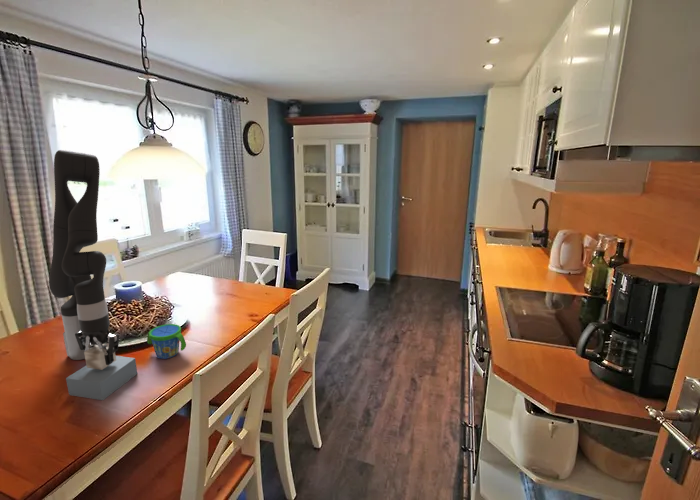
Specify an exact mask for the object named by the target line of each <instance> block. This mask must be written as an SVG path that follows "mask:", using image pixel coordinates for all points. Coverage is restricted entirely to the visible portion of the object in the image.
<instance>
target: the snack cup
mask: <svg viewBox="0 0 700 500" xmlns="http://www.w3.org/2000/svg"><path fill="white" fill-rule="evenodd" d="M181 332H182V327H181V326H180V325H179V324H176V323H167V324H161V325H158V326H156V327H154V328H152V329H151V330H149V331H148V332H147V338H146V340H147V341H146V342H147V344H148V345H152V346H153V349H154V352H155V356H156V358H158V359H160V360H161V359H164V360H167V359H171V358H173V357H176V356H177V355H178V353H179V350H180V352H181V351H184V350H185V349H186V347H187V343H186V341H185V337H184V335H183V334H182V333H181Z"/></svg>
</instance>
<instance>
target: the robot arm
mask: <svg viewBox="0 0 700 500" xmlns="http://www.w3.org/2000/svg"><path fill="white" fill-rule="evenodd" d="M100 169H101V168H100V163H99V159H98V157H97V156H96V155H94V154H91V153H86V152H84V153H83V152H79V151H71V150H66V149H65V150H64V149H59V150H57V151H56V152H55V155H54V158H53V173H54V175H53V177H54V213H53V225H52V226H53V227H52V228H53V229H52V231H53V232H52V235H53V244H52V246H53V247H52V257H51V263H50V264H51V265H50V269H49V277H48V286H49V289H50V292H51V294H52V296H54V297H55V298H57V299H64V298H69V299H68V300H67V301H66V302H65V303H63V304H62V305H61V306H60V313H61V318H62V319H61V320H62V324H63V330H64V331H63V333H62V335H63V341H64V344H65V345H64V346H65V350H66V355H67V357H69V359H71V360H73V361H79V360H80V361H81V360H85V355H84V352H85V351H87V350H89V349H90V348H92V347H94V346H96V345H98V347H99V348H100V349H102V351H103V352H104V354H105V355H104V356H105V362H106V365H110V364H111V363H112V362H113V361H114V358H113V353H114V352H115V353H116V351H118V350H119V346H120V345H119V342H120V339H119V338H120V335H119V334H118V333H115V334H112V333H111V332H110V329H109V327H110V326H111V325H110V324H111V321H110V315H109V310H108V308H109V307H108V304H107V301H106V297H105V291H104V277H105V271H106V267H107V257H106V256H105V254H104V253H103V252H101V250H100V251H99V250H91V251H81V250H82V249H83V248H86V247H89V246H90V247H91V246H93V245H95V244H97V242H98V240H99V239H98V225H97V223H98V220H97V211H98V201H99V187H100V175H101V174H100ZM68 182H74V183H75V182H76V183H85V184H86V188H85V190H84V193H83V195H82V196H81V198H80V199H79V200H78V201H77V200H76V199H75V197H74V196H73V193H72V192H71V190H70V188H69V186H68ZM91 275H93V277H92V276H91ZM103 344H105V345H103ZM106 347H108V348H109V350H107V349H106Z"/></svg>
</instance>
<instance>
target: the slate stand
mask: <svg viewBox="0 0 700 500" xmlns="http://www.w3.org/2000/svg"><path fill="white" fill-rule="evenodd" d="M115 356H116V361H114V362H113V363H112V364H110V365H109V366H107V367H106V368H104V369H103V370H99V369H92V368H87V366H86V365H85V366H82V368H80V369H78V370H77V371H75V372H74V373H72V374H70V375H69V376H67V377H65V381H66V386H67V391H68V395H69V396H73V397H80V398H85V399H86V398H87V399H91V400H92V399H93V400H99V401H104V400H106V399H107V398H108V397H109V396H111V395H112V394H113V393H114V392H116V391H117V390H118V389H119V388H122V386H124V385H125V384H126V383H127V382H129V381H130V380H132V379H133V378H134V377H135V376H136V375H138V369H137V362H136V358H135V357H128V356H121V355H115Z"/></svg>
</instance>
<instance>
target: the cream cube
mask: <svg viewBox="0 0 700 500" xmlns="http://www.w3.org/2000/svg"><path fill="white" fill-rule="evenodd" d="M105 344H106V343H104V344H103V345H105ZM106 349H107V350H109V348H108V347H106ZM84 355H85V359H84V360H85V364H86V365H85V366H87V368H92V369H99V370H103V369H104V368H106V367H107V366H109V365H106V362H105V356H104V355H105V354H104V352H103V351H102V349H100V348H99V347H98V345H96V346H94V347H92V348H90V349H89V350H87V351H85V352H84ZM116 356H117V355H116V351H115V352H114V353H113V358H114V361H116ZM114 361H113V362H114ZM113 362H112V363H113ZM112 363H111V364H112Z"/></svg>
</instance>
